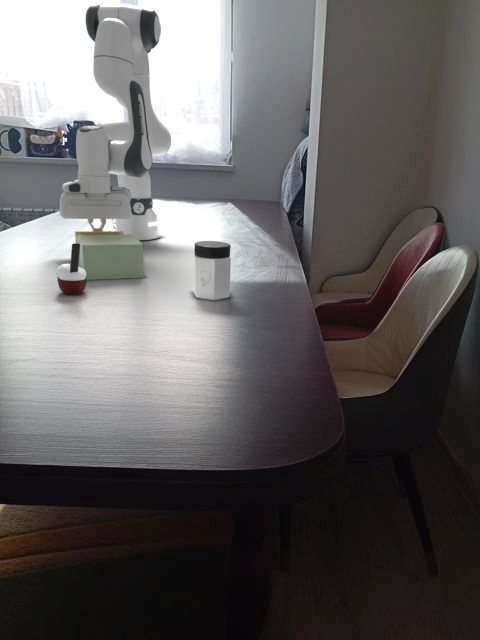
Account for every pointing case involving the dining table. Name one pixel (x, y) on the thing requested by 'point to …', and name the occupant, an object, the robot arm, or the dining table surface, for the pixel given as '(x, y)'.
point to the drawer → (98, 233)
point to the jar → (212, 270)
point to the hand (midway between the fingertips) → (97, 234)
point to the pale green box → (111, 256)
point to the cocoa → (72, 274)
